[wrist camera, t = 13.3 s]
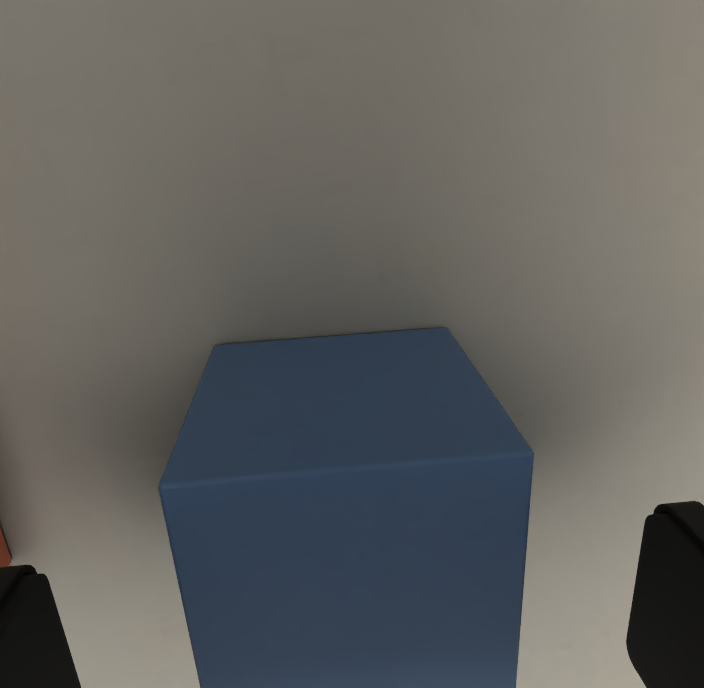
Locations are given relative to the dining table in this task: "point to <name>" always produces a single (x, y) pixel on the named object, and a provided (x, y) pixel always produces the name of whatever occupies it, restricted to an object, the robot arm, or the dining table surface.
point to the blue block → (349, 516)
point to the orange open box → (4, 552)
